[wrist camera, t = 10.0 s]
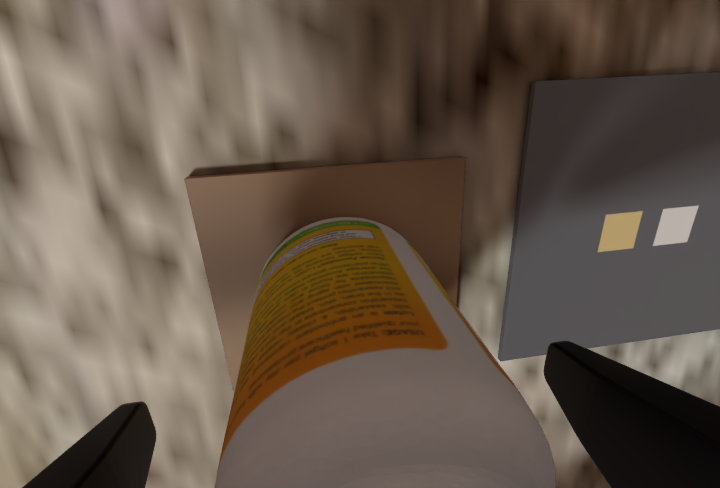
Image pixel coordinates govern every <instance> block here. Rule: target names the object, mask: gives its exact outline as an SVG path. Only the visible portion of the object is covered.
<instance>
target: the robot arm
mask: <svg viewBox="0 0 720 488" xmlns="http://www.w3.org/2000/svg"><path fill="white" fill-rule="evenodd" d="M544 376H545V379H546V381H547V383H548V385H549V387H550V389H551V390H552V392H553V394H554V396H555V398H556V399H557V401H558V403H559V405H560V406H561V408H562V410H563V412H564V414H565V415H566V417H567V419H568V421H569V423H570V424H571V426H572V428H573V430H574V432H575V433H576V435H577V437H578V438H579V440H580V442H581V443H582V445H583V446H584V448H585V449H586V451H587V452H588V454H589V455H590V457H591V458H592V460H593V461H594V463H595V464H596V466H597V467H598V469H599V470H600V472H601V473H602V474H603V476H604V477H605V479H606V480H607V482H608V483H609V485H610V486H611V488H720V407H719V406H717V405H714V404H712V403H710V402H707V401H705V400H703V399H701V398H698V397H696V396H694V395H691V394H689V393H687V392H685V391H682V390H680V389H678V388H675V387H673V386H671V385H669V384H666V383H664V382H662V381H659V380H657V379H655V378H652V377H650V376H648V375H646V374H643V373H641V372H639V371H636V370H634V369H632V368H630V367H627V366H625V365H623V364H620V363H618V362H616V361H614V360H611V359H609V358H607V357H604V356H602V355H600V354H598V353H595V352H593V351H591V350H589V349H586V348H584V347H582V346H579V345H577V344H575V343H573V342H570V341H559V342H553V343H550V345H549V346H548V349H547V355H546V360H545V366H544ZM155 442H156V430H155V427H154V424H153V421H152V418H151V415H150V413H149V410H148V407H147V405H146V404H145V403H144V402H133V403H126V404H123V405H121V406H119V407H118V408H117V409H115V410H114V411H113V412H112V413H111V414H109V415H108V416H107V417H106V418H105V419H104V420H102V421H101V422H100V423H99V424H98V425H96V426H95V427H94V428H93V429H92V430H90V431H89V432H88V433H87V434H86V435H84V436H83V437H82V438H81V439H80V440H78V441H77V442H76V443H75V444H74V445H73V446H71V447H70V448H69V449H68V450H67V451H65V452H64V453H63V454H62V455H61V456H59V457H58V458H57V459H56V460H55V461H53V462H52V463H51V464H50V465H49V466H47V467H46V468H45V469H44V470H43V471H41V472H40V473H39V474H38V475H37V476H36V477H34V478H33V479H32V480H31V481H30V482H28V483H27V484H26V485H25V486H24V487H22V488H145V485H146V481H147V477H148V472H149V468H150V464H151V459H152V455H153V451H154V447H155Z"/></svg>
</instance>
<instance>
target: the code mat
mask: <svg viewBox="0 0 720 488" xmlns="http://www.w3.org/2000/svg"><path fill="white" fill-rule="evenodd" d="M716 329H720V72H709V73H689V74H669V75H649V76H629V77H609V78H590V79H570V80H550V81H532V86H531V94H530V102H529V110H528V118H527V126H526V134H525V142H524V150H523V158H522V167H521V175H520V183H519V191H518V199H517V207H516V215H515V223H514V231H513V239H512V247H511V256H510V264H509V272H508V280H507V288H506V296H505V304H504V312H503V320H502V328H501V337H500V345H499V353H498V359H499V360H500V361H505V360H512V359H519V358H525V357H532V356H539V355H546V354H547V349H548V346H549V345H550V343H553V342H559V341H570V342H573V343H575V344H577V345H579V346H582V347H584V348H586V349H587V348H593V347H600V346H607V345H614V344H621V343H627V342H634V341H641V340H648V339H655V338H661V337H668V336H675V335H682V334H689V333H695V332H702V331H709V330H716Z"/></svg>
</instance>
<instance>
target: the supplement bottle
mask: <svg viewBox="0 0 720 488" xmlns="http://www.w3.org/2000/svg"><path fill="white" fill-rule="evenodd" d="M215 488H556V477H555V466H554V461H553V457H552V453H551V449H550V446H549V443H548V441H547V439H546V436H545V434H544V432H543V430H542V428H541V426H540V424H539V422H538V420H537V419H536V417H535V416H534V414H533V412H532V411H531V409H530V408H529V406H528V405H527V403H526V402H525V400H524V398H523V397H522V395H521V394H520V392H519V391H518V389H517V388H516V386H515V385H514V383H513V382H512V381H511V380H510V378H509V377H508V376H507V374H506V373H505V372H504V370H503V369H502V368H501V366H500V365H499V364H498V362H497V361H496V360H495V358H494V357H493V356H492V354H491V353H490V352H489V350H488V349H487V347H486V346H485V345H484V343H483V342H482V341H481V339H480V338H479V336H478V335H477V334H476V332H475V331H474V330H473V328H472V327H471V326H470V324H469V323H468V321H467V320H466V319H465V317H464V316H463V314H462V313H461V312H460V310H459V309H458V307H457V306H456V305H455V303H454V302H453V301H452V299H451V298H450V296H449V295H448V294H447V292H446V291H445V290H444V288H443V287H442V285H441V284H440V283H439V281H438V280H437V279H436V277H435V276H434V274H433V273H432V271H431V270H430V269H429V267H428V266H427V264H426V263H425V262H424V261H423V259H422V258H421V256H420V255H419V254H418V253H417V251H416V250H415V249H414V248H413V247H412V246H411V245H410V243H409V242H408V241H407V240H406V239H405V238H403V237H402V236H401V235H400V234H398V233H397V232H396V231H394V230H393V229H391V228H389V227H387V226H386V225H383V224H381V223H378V222H375V221H372V220H368V219H364V218H356V217H338V218H330V219H325V220H321V221H318V222H315V223H312V224H309V225H307V226H305V227H303V228H301V229H299V230H297V231H296V232H294V233H293V234H292V235H290V236H289V237H288V238H287V239H285V240H284V241H283V242H282V243H281V244H280V245H279V246H278V247H277V248H276V250H275V251H274V252H273V253H272V255H271V256H270V258H269V259H268V260H267V262H266V264H265V266H264V268H263V271H262V273H261V276H260V279H259V282H258V285H257V289H256V293H255V298H254V302H253V307H252V312H251V317H250V322H249V327H248V332H247V336H246V341H245V346H244V351H243V355H242V360H241V364H240V369H239V374H238V378H237V383H236V388H235V393H234V398H233V402H232V407H231V411H230V416H229V420H228V425H227V429H226V433H225V438H224V442H223V447H222V452H221V457H220V461H219V466H218V471H217V477H216V484H215Z"/></svg>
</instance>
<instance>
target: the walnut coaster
mask: <svg viewBox="0 0 720 488" xmlns="http://www.w3.org/2000/svg"><path fill="white" fill-rule="evenodd" d="M465 166H466V158H465V157H463V156H458V157H444V158H431V159H418V160H404V161H391V162H377V163H364V164H351V165H337V166H324V167H311V168H297V169H284V170H270V171H257V172H244V173H230V174H217V175H204V176H190V177H186V178H185V179H184V180H185V184H186V188H187V193H188V197H189V201H190V205H191V210H192V214H193V218H194V223H195V227H196V231H197V236H198V240H199V244H200V248H201V253H202V257H203V261H204V266H205V270H206V274H207V279H208V283H209V287H210V291H211V296H212V300H213V304H214V309H215V313H216V317H217V322H218V326H219V330H220V334H221V339H222V343H223V347H224V352H225V356H226V360H227V365H228V369H229V373H230V377H231V382H232V386H233V390H234V393H235V388H236V383H237V378H238V374H239V369H240V364H241V360H242V355H243V351H244V346H245V341H246V336H247V332H248V327H249V322H250V317H251V312H252V307H253V302H254V298H255V293H256V289H257V285H258V282H259V279H260V276H261V273H262V271H263V268H264V266H265V264H266V262H267V260H268V259H269V258H270V256H271V255H272V253H273V252H274V251H275V250H276V248H277V247H278V246H279V245H280V244H281V243H282V242H283V241H284V240H285V239H287V238H288V237H289V236H290V235H292V234H293V233H294V232H296V231H297V230H299V229H301V228H303V227H305V226H307V225H309V224H312V223H315V222H318V221H321V220H325V219H330V218H338V217H356V218H364V219H368V220H372V221H375V222H378V223H381V224H383V225H386V226H387V227H389V228H391V229H393V230H394V231H396V232H397V233H398V234H400V235H401V236H402V237H403V238H405V239H406V240H407V241H408V242H409V243H410V245H411V246H412V247H413V248H414V249H415V250H416V251H417V253H418V254H419V255H420V256H421V258H422V259H423V261H424V262H425V263H426V264H427V266H428V267H429V269H430V270H431V271H432V273H433V274H434V276H435V277H436V279H437V280H438V281H439V283H440V284H441V285H442V287H443V288H444V290H445V291H446V292H447V294H448V295H449V296H450V298H451V299H452V301H453V302H454V303H455V305H457V289H458V274H459V258H460V243H461V227H462V212H463V196H464V181H465Z"/></svg>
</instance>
